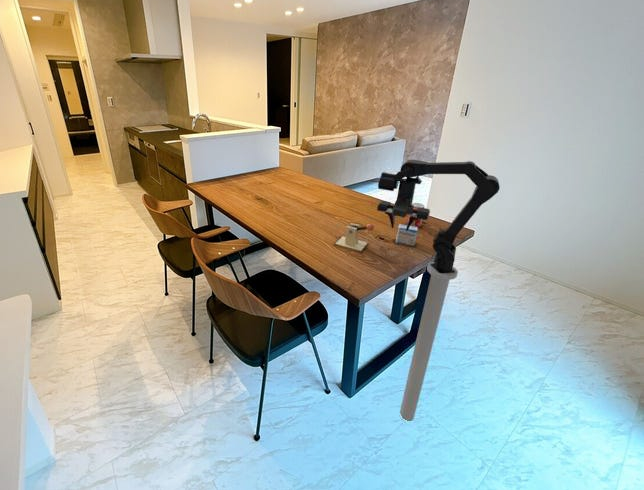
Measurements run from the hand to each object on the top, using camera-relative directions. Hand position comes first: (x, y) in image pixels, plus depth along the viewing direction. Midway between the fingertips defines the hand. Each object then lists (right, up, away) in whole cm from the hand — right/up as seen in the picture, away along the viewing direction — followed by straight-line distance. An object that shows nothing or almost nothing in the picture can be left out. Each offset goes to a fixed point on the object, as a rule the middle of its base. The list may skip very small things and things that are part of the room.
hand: (399, 229), depth 121 cm
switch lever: (-12, -2, +10) cm, 16 cm away
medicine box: (+9, -8, +16) cm, 20 cm away
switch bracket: (-16, -8, +15) cm, 23 cm away
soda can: (+21, 0, +34) cm, 40 cm away
